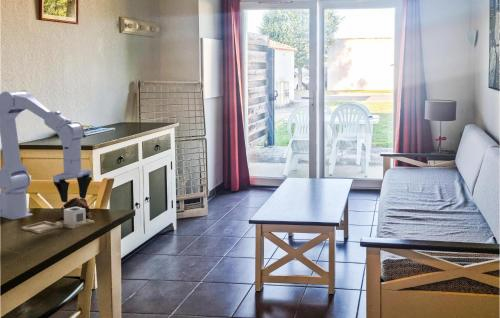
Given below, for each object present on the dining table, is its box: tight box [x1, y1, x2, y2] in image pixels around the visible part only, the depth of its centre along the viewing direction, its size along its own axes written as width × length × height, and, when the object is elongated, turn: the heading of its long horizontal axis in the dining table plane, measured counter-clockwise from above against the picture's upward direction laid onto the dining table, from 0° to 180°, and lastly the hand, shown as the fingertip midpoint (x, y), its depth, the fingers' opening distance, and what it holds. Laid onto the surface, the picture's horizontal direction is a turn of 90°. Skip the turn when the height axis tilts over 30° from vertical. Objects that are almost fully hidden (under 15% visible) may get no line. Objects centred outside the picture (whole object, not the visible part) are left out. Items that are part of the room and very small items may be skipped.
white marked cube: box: [63, 207, 87, 226], centre depth 210 cm, size 5×5×5 cm
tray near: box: [21, 220, 63, 234], centre depth 205 cm, size 9×9×1 cm
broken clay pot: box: [60, 197, 93, 220], centre depth 220 cm, size 12×10×8 cm
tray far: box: [54, 218, 95, 230], centre depth 211 cm, size 9×9×1 cm
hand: (73, 199), depth 209 cm, fingers open, 7 cm apart
